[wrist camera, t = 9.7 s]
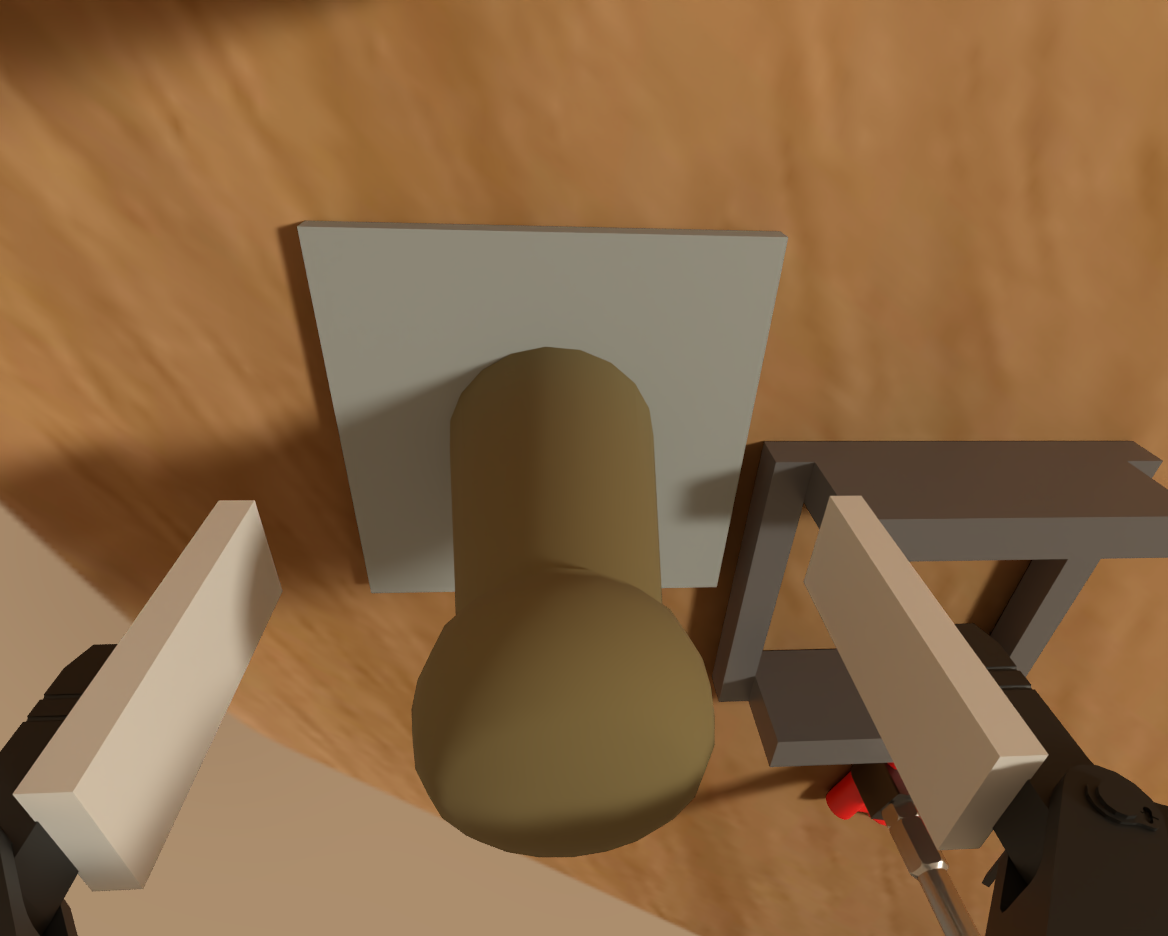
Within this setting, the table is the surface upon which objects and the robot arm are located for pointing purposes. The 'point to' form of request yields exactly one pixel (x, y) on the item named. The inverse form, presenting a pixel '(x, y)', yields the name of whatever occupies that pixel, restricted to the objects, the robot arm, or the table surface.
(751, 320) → the mat
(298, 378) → the table surface
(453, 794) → the cork
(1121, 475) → the grey square frame
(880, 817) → the tow hook
